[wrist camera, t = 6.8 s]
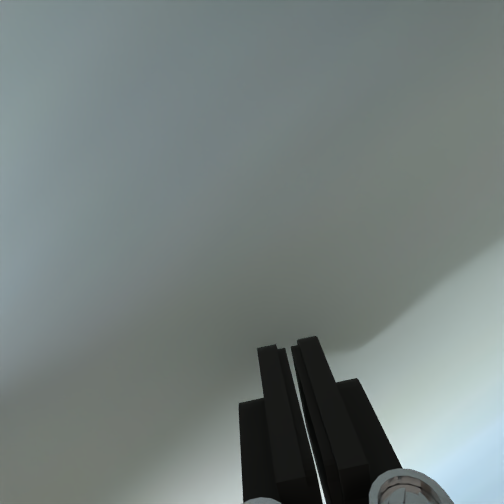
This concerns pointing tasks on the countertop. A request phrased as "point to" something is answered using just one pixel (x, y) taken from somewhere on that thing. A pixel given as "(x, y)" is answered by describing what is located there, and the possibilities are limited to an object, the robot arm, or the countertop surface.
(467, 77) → the countertop surface
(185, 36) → the countertop surface
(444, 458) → the countertop surface
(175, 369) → the countertop surface
